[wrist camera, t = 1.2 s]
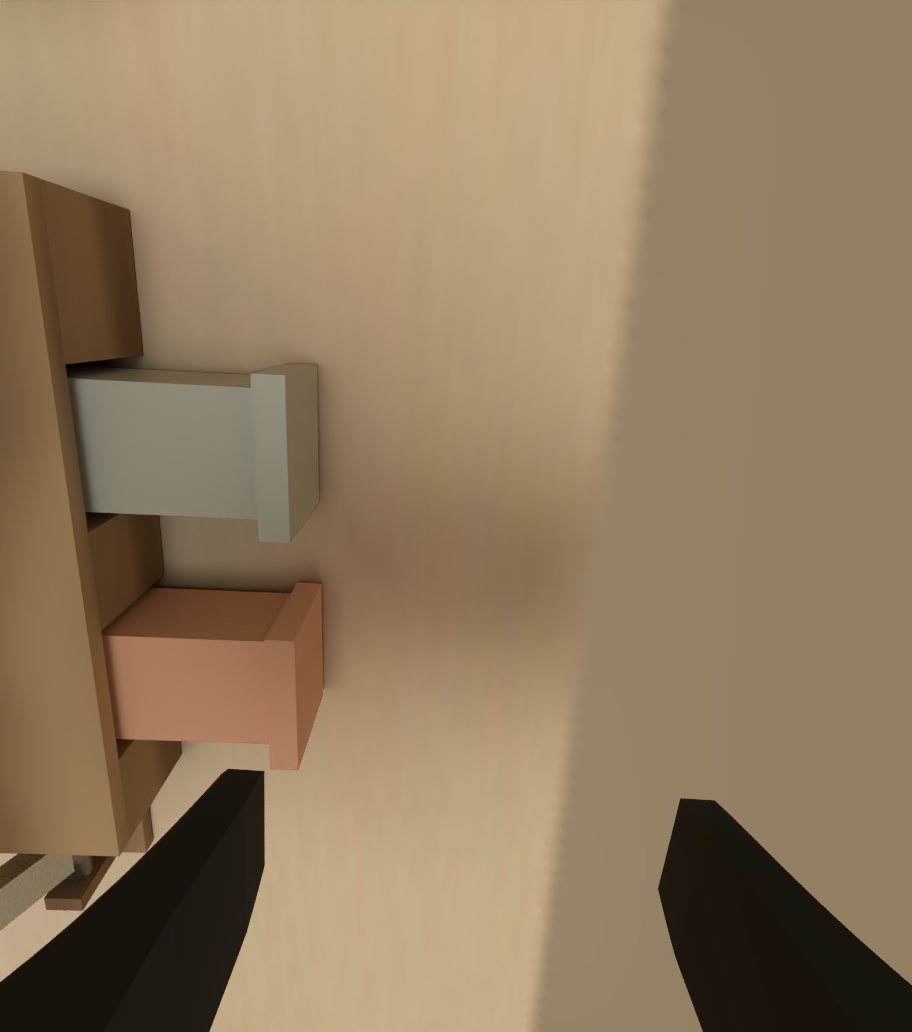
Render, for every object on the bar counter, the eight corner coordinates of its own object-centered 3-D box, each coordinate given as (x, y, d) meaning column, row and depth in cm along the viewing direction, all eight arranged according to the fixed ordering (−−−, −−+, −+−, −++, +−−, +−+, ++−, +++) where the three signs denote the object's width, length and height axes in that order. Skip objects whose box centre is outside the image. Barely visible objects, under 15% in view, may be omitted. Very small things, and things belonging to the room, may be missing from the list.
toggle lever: (91, 810, 21) (-58, 918, 17) (100, 866, 21) (-41, 981, 18) (71, 800, 21) (-79, 903, 17) (80, 855, 22) (-62, 966, 18)
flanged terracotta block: (321, 583, 20) (294, 640, 17) (323, 694, 21) (298, 770, 18) (113, 574, 20) (40, 630, 16) (127, 687, 21) (62, 762, 18)
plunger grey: (317, 364, 18) (284, 375, 14) (319, 501, 19) (289, 543, 16) (84, 352, 18) (-8, 360, 14) (102, 491, 19) (21, 531, 15)
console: (129, 210, 17) (21, 172, 13) (190, 840, 24) (133, 956, 19) (-94, 196, 17) (-279, 153, 12) (30, 836, 23) (-62, 951, 19)
